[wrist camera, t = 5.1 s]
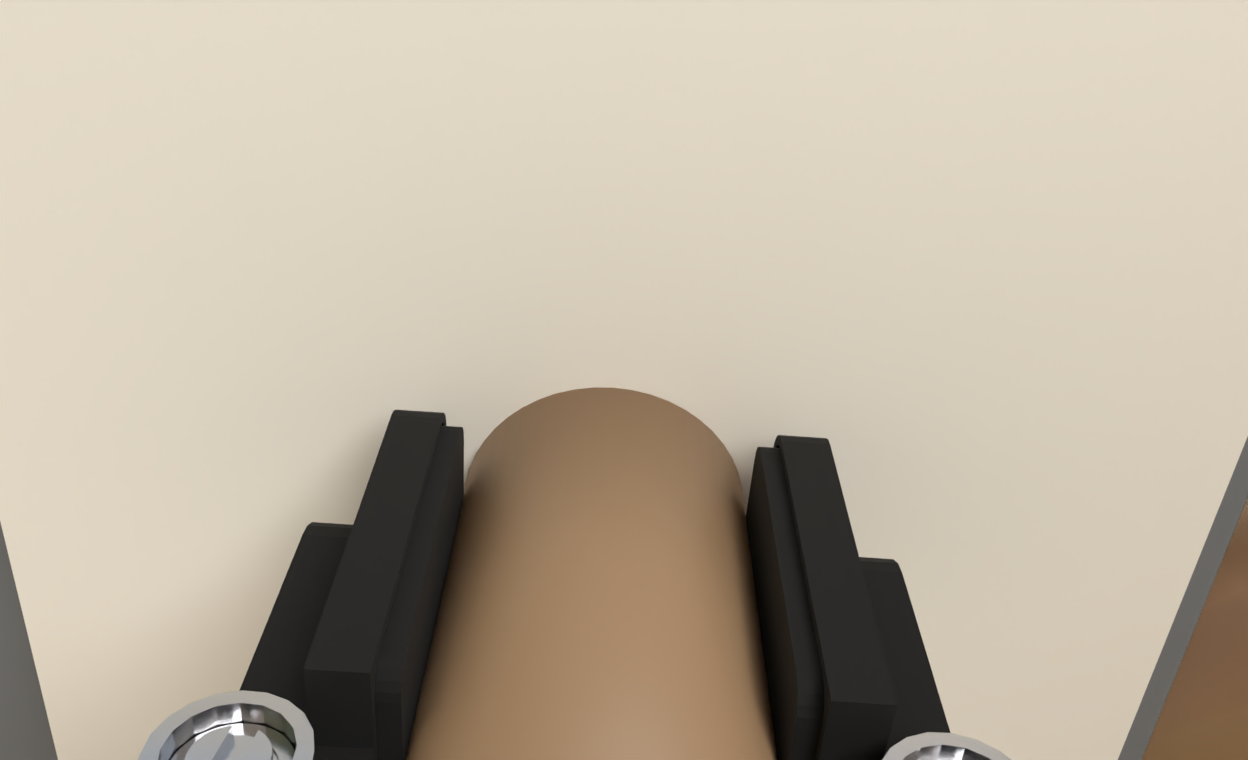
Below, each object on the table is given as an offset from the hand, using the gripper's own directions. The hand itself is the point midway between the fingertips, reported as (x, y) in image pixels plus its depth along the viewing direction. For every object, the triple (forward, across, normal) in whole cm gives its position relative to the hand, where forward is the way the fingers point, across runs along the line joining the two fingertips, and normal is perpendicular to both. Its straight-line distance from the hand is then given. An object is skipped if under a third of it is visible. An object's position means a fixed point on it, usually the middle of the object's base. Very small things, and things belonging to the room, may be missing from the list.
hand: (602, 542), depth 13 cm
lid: (+2, 0, 0) cm, 2 cm away
